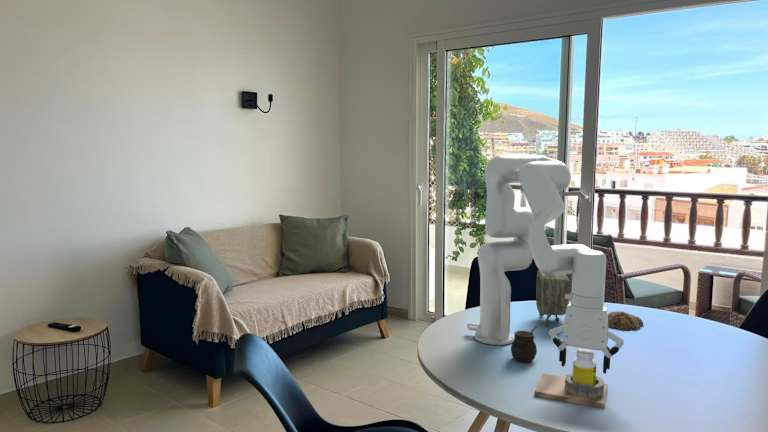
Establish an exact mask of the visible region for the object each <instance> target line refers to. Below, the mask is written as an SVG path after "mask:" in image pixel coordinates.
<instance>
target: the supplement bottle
mask: <svg viewBox="0 0 768 432" xmlns="http://www.w3.org/2000/svg"><path fill="white" fill-rule="evenodd" d="M594 353H595V352H594V351H593V350H592V349H585V348H578V349H577V350H576V354H575V355H576V357H575V358H574V359H573V361H572V373H573V379H572V381H573V382H574V383H577V384H579V385H585V386H594V385H595V382H596V376H597V363H596V361H595V360H594V356H595V354H594Z"/></svg>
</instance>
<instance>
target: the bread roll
mask: <svg viewBox="0 0 768 432" xmlns="http://www.w3.org/2000/svg"><path fill="white" fill-rule="evenodd" d="M607 315H608V328H616V329H618V330H620V331H625V332H627V331H638V330H641V328H642V327H644V322H643V320H642V319H641V318H640V317H639V316H635V315H633V314H631V313H627V312H624V311H610V312H609V313H607Z"/></svg>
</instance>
